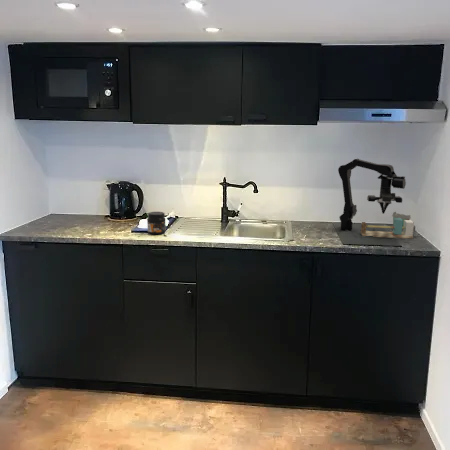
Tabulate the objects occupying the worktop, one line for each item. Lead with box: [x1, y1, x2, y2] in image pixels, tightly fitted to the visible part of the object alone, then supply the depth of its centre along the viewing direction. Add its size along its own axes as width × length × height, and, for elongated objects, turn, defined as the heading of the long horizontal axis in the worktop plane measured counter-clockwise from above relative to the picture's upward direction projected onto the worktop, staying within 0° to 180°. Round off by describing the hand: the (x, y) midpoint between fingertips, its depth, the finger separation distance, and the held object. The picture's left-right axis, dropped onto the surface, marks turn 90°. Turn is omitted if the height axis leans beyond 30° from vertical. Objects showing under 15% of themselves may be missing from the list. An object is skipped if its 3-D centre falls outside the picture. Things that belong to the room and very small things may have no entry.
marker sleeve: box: [391, 218, 403, 235], centre depth 275 cm, size 4×6×8 cm, turn 172°
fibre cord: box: [366, 224, 405, 229], centre depth 276 cm, size 23×1×1 cm, turn 82°
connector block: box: [402, 219, 416, 237], centre depth 274 cm, size 6×7×8 cm
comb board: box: [359, 221, 414, 239], centre depth 277 cm, size 28×10×7 cm, turn 82°
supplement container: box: [146, 211, 166, 236], centre depth 275 cm, size 10×10×12 cm
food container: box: [391, 211, 412, 232], centre depth 290 cm, size 12×6×10 cm, turn 27°
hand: (383, 213), depth 276 cm, fingers closed
